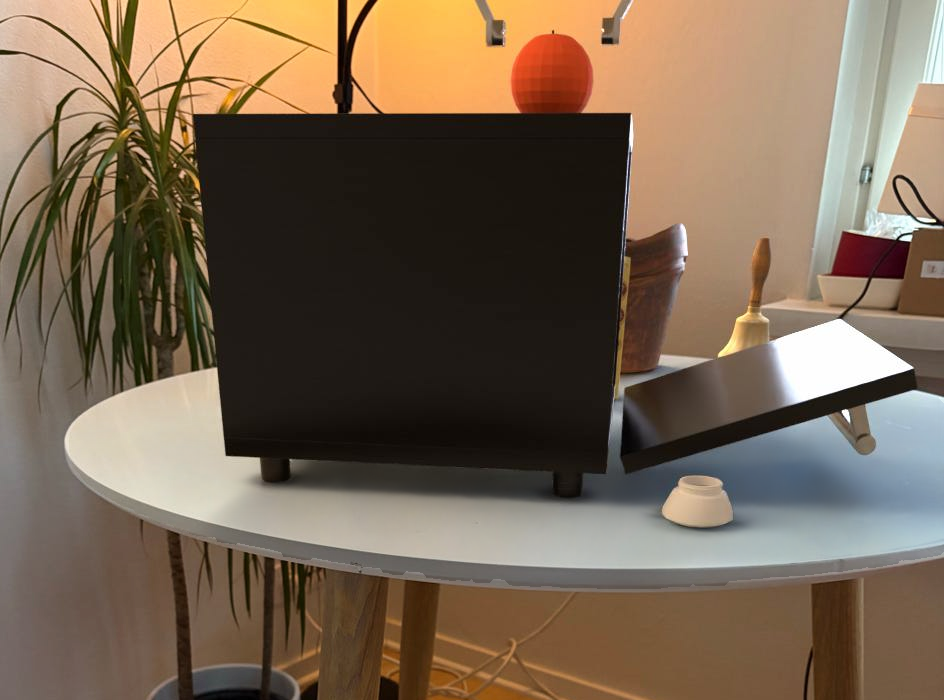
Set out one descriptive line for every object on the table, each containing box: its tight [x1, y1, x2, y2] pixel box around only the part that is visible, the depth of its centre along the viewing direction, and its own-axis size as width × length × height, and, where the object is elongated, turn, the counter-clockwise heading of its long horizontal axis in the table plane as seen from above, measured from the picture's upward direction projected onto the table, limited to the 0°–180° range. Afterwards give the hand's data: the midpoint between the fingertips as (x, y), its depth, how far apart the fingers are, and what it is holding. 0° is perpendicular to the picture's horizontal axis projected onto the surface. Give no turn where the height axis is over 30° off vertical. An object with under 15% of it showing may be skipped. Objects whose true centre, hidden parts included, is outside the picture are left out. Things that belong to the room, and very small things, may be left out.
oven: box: [192, 112, 634, 499], centre depth 85 cm, size 30×30×26 cm
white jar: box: [661, 475, 734, 529], centre depth 71 cm, size 5×3×5 cm
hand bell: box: [717, 236, 773, 358], centre depth 136 cm, size 8×8×16 cm
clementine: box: [509, 29, 594, 113], centre depth 82 cm, size 8×7×7 cm
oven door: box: [619, 318, 918, 476], centre depth 85 cm, size 7×28×21 cm
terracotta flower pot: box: [620, 223, 689, 373], centre depth 129 cm, size 18×20×18 cm
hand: (552, 45), depth 81 cm, fingers open, 8 cm apart
